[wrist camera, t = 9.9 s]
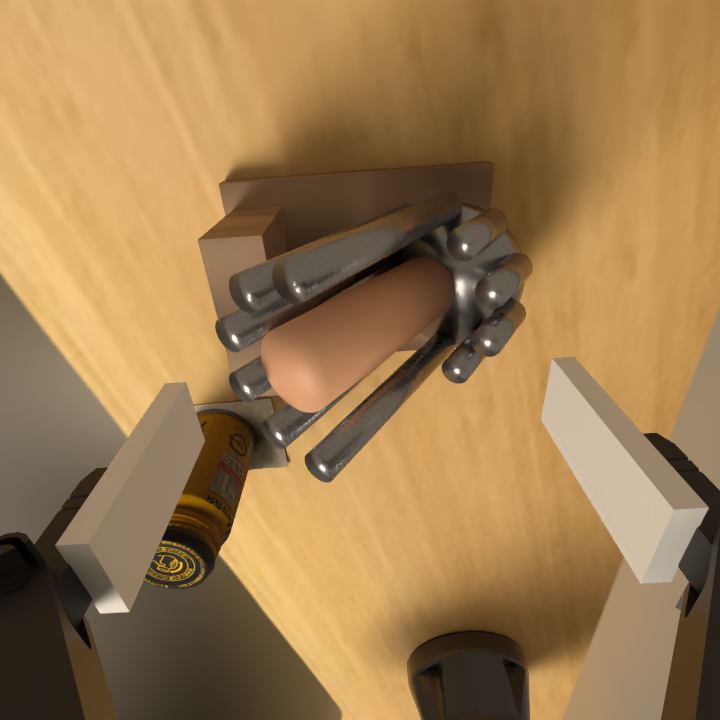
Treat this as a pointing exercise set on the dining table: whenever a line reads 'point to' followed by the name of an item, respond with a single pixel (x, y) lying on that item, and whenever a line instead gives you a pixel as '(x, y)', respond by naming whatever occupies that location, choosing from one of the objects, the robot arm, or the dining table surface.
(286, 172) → the dining table surface
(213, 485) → the condiment
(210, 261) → the socket base
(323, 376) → the peg
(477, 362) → the socket
